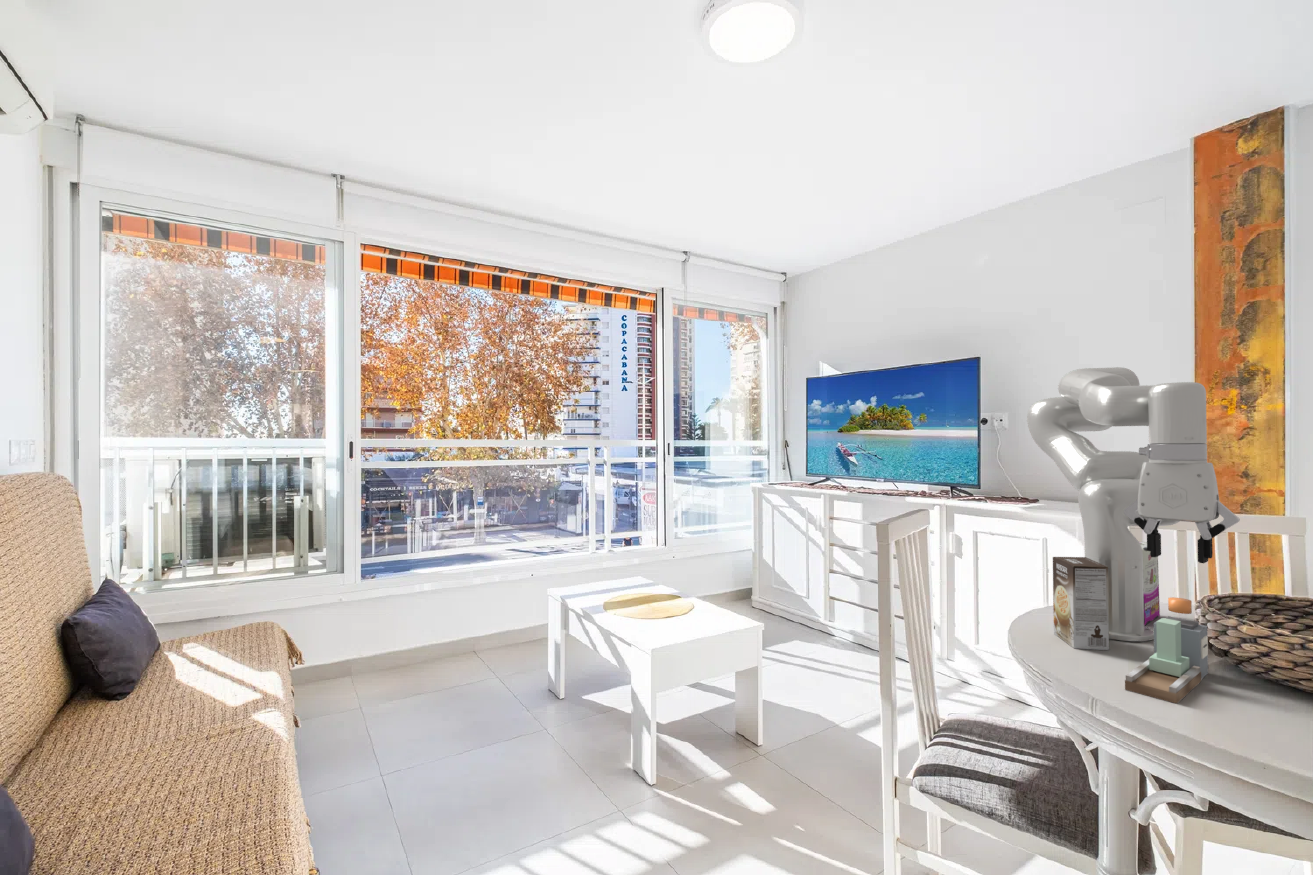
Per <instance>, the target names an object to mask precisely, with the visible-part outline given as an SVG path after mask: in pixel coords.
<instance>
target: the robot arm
mask: <svg viewBox="0 0 1313 875" xmlns="http://www.w3.org/2000/svg"><path fill="white" fill-rule="evenodd" d="M1057 386H1058V388H1057V389H1058V392H1059V395H1060V396H1057V397H1049V398H1044V399H1041V400H1038V401H1036V402H1034V403H1033V404H1031V406H1029V409H1028V411H1027V415H1026V419H1027V420H1026V422H1027V427H1028V429H1029V433H1030V435H1031V439H1032V440H1033V441H1034V442H1035V444H1036V445H1037V446H1038V447H1039V449H1040V450H1041V451H1042V452H1044V453H1045V454H1046V455H1047V456H1048V457H1049V458H1050V459H1052V461H1053V462H1054V463H1055V465H1056V466H1057V467H1058V468H1059V471H1060V472H1061V473H1062V474H1063V476H1064V477H1065V479H1066V480H1067V481H1068V482H1069V484H1070V485H1071V486H1072V487H1073V488H1074V490H1076V491H1078V496H1077V501H1078V508H1079V511H1080V516H1081V520H1082V527H1083V537H1084V538H1083V539H1084V540H1083V542H1084V557H1087V558H1089V559H1091V560H1093V561H1096V562H1098V563H1100V564H1102V565H1105V566H1107V567H1108V602H1109V640H1117V641H1123V642H1124V641H1125V642H1147V641H1151V640H1154V629H1153V630H1152V629H1151V628H1149V627H1148V626H1147V625H1144V598H1143V552H1142V547H1141V545H1140V543H1139V542H1140V541H1139V540H1138V539H1137V538H1136V536H1135V535H1134V534H1133V533H1132V532H1131V530H1130V529H1129V528H1128V527H1136V526H1137V527H1139V528H1140V529H1141V530H1142V531H1143V532H1144V534H1146V542H1147V551H1151V557H1157V556H1158V557H1159V556H1162V534H1161V533H1160V532H1159V527H1167V526H1173V525H1176V524H1178V523H1179V522H1187V523H1194V524H1195V525H1196V528H1197V529H1198V531H1199V534H1200V535H1199V538H1198V539H1197V562H1198V563H1199V564H1206V563H1207V562H1209V559H1212V558H1213V556H1214V555H1213V538H1214V539H1215V537H1216V536H1218V535H1220V534H1221V533H1222V532H1224V531H1226V530H1227V529H1229V528H1231V527H1233V526H1234V525H1236V524H1238V523H1240V518H1239V517H1238V516H1237V515H1236V514H1235V513H1234V512H1232V511H1231V510H1230V509H1229V508H1228V507H1227V506H1226V505H1224V504H1223V503H1222V501H1220V495H1219V488H1218V482H1217V481H1218V480H1217V475H1216V472H1215V468H1214V464H1213V462H1208V440H1207V439H1208V438H1207V436H1208V434H1207V431H1208V430H1207V424H1208V422H1207V390H1206V388H1205V386H1204V385H1203V384H1202V383H1199V382H1193V381H1181V382H1180V381H1179V382H1166V383H1158V384H1155V385H1154V384H1151V385H1147V384H1146V385H1141V384H1140V380H1139V377H1138V376H1137V374H1136V373H1135V372H1134V371H1132V370H1130V369H1129V368H1125V367H1118V366H1117V367H1114V366H1113V367H1092V368H1091V367H1089V368H1087V367H1085V368H1078V369H1075V370H1072V371H1069V372H1067V373H1066V374H1064V375H1063V376H1062V377H1061V378H1060V380H1059V382H1058V385H1057ZM1112 427H1148V444H1147V446H1144V447H1139V448H1138V451H1130V450H1129V451H1126V450H1124V451H1123V450H1121V451H1120V450H1119V451H1115V450H1114V451H1113V450H1112V451H1111V450H1109V451H1108V450H1100V449H1099V448H1097V447H1096V446H1095V445H1094V444H1093V442H1092V441H1091V440H1089V439H1088V438H1087V437H1085V436H1083V435H1082V434H1079V432H1102V431H1107V430H1109V429H1110V428H1112ZM1077 432H1078V433H1077ZM1220 516H1221V517H1222V518H1223V519H1222V521H1220V522H1219V523H1217V524H1215V525H1214V526H1212V524H1211V521H1213V520H1216V519H1218V518H1219V517H1220ZM1138 541H1139V542H1138Z"/></svg>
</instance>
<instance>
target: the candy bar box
mask: <svg viewBox="0 0 1313 875" xmlns="http://www.w3.org/2000/svg"><path fill="white" fill-rule="evenodd" d="M1138 542H1139V543H1140V545H1141V547H1142V552H1143V598H1144V626H1147V625H1148V624H1149V623H1151V622H1152V621H1154V620H1155V619H1157V618H1158V617H1160V616H1161V613H1160V612H1161V609H1160V583H1159V582H1160V580H1159V577H1160V576H1159V575H1160V574H1159V556H1157V557H1151V551H1147V541H1139V540H1138Z"/></svg>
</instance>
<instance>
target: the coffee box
mask: <svg viewBox="0 0 1313 875" xmlns="http://www.w3.org/2000/svg"><path fill="white" fill-rule="evenodd" d="M1052 596H1053V597H1052V600H1053V604H1052V605H1053V606H1052V607H1053V609H1052V610H1053V634H1054V635H1055V636H1057V637H1058V638H1060V639H1061V640H1062V641H1064V643H1066V644H1067V645H1069V646H1070V647H1071V648H1073V649H1079V650H1095V651H1096V650H1098V651H1099V650H1100V651H1109V650H1110V643H1109V642H1110V639H1109V602H1108V567H1107V566H1105V565H1102V564H1100V563H1098V562H1096V561H1093V560H1091V559H1089V558H1087V557H1085V556H1079V557H1078V556H1052Z"/></svg>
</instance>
